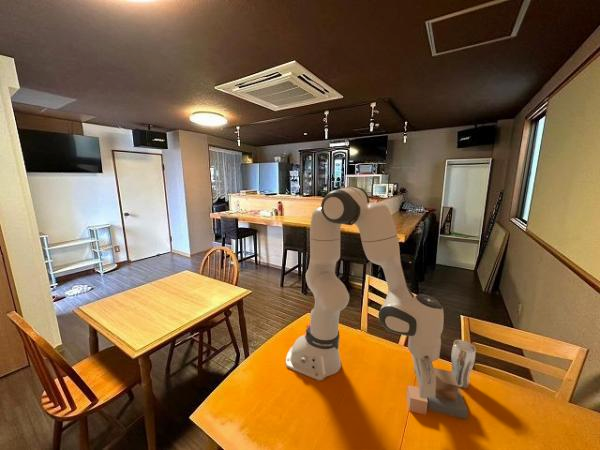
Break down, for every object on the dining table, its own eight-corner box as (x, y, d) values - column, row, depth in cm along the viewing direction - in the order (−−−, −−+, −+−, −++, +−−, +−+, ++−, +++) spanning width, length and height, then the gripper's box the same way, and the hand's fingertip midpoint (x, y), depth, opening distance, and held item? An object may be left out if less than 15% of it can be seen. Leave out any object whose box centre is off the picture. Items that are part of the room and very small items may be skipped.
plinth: (428, 409, 78) (429, 402, 77) (421, 382, 88) (422, 375, 87) (467, 419, 74) (468, 411, 74) (455, 389, 85) (456, 382, 84)
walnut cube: (435, 397, 79) (437, 381, 78) (431, 382, 84) (433, 367, 83) (456, 401, 77) (458, 386, 76) (450, 386, 83) (452, 371, 82)
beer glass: (474, 391, 84) (480, 354, 81) (452, 387, 86) (458, 351, 83) (465, 375, 91) (470, 340, 88) (445, 372, 92) (449, 338, 89)
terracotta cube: (409, 410, 77) (410, 398, 76) (406, 397, 82) (408, 385, 81) (426, 415, 76) (427, 401, 75) (422, 401, 81) (424, 388, 80)
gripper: (444, 374, 64) (438, 416, 67) (428, 328, 83) (424, 362, 86) (418, 369, 66) (414, 410, 68) (408, 325, 85) (405, 359, 88)
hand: (419, 383), depth 77 cm, fingers open, 8 cm apart
